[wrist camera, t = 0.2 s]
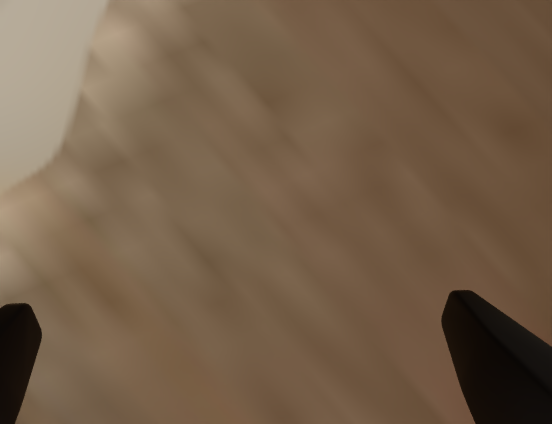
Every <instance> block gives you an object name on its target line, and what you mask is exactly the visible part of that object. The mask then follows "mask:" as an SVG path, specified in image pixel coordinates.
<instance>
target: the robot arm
mask: <svg viewBox="0 0 552 424" xmlns="http://www.w3.org/2000/svg"><path fill="white" fill-rule="evenodd" d="M441 322H442V328H443V331H444V334H445V338H446V341H447V344H448V348H449V351H450V354H451V357H452V361H453V364H454V367H455V371H456V374H457V377H458V380H459V383H460V386H461V389H462V392H463V395H464V397H465V400H466V402H467V405H468V407H469V410H470V412H471V414H472V417H473V419H474V421H475V424H552V347H551V346H550V345H548V344H547V343H545V342H544V341H543V340H541V339H540V338H538V337H537V336H536V335H534V334H533V333H531V332H530V331H528V330H527V329H526V328H524V327H523V326H521V325H520V324H518V323H517V322H516V321H514V320H513V319H511V318H510V317H508V316H507V315H506V314H504V313H503V312H501V311H500V310H498V309H497V308H496V307H494V306H493V305H491V304H490V303H489V302H487V301H486V300H484V299H483V298H481V297H480V296H479V295H477V294H476V293H474V292H473V291H470V290H454V291H452V292H451V293H450V294H449V296H448V299H447V302H446V305H445V308H444V311H443V314H442V319H441ZM41 338H42V332H41V328H40V325H39V323H38V321H37V319H36V316H35V314H34V312H33V310H32V308H31V306H30V305H29V304H26V303H15V304H6V305H4V306H3V307H1V308H0V424H15V421H16V419H17V416H18V414H19V411H20V408H21V405H22V402H23V399H24V396H25V392H26V389H27V386H28V383H29V379H30V376H31V373H32V369H33V366H34V363H35V359H36V356H37V353H38V350H39V346H40V343H41Z"/></svg>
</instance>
